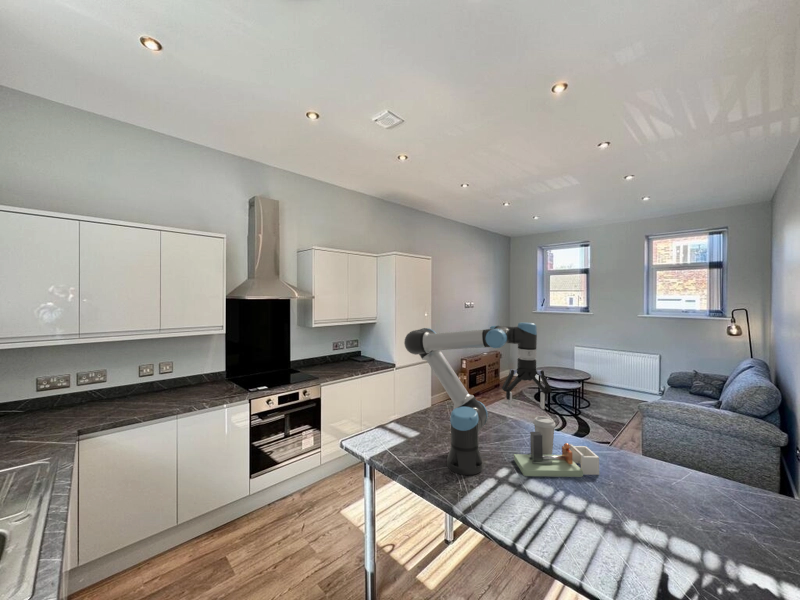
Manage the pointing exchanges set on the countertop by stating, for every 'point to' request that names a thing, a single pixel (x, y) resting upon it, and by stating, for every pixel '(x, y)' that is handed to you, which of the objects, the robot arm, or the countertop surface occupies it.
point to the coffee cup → (545, 432)
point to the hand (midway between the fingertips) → (526, 407)
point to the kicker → (538, 450)
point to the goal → (585, 459)
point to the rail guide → (540, 461)
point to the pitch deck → (547, 467)
